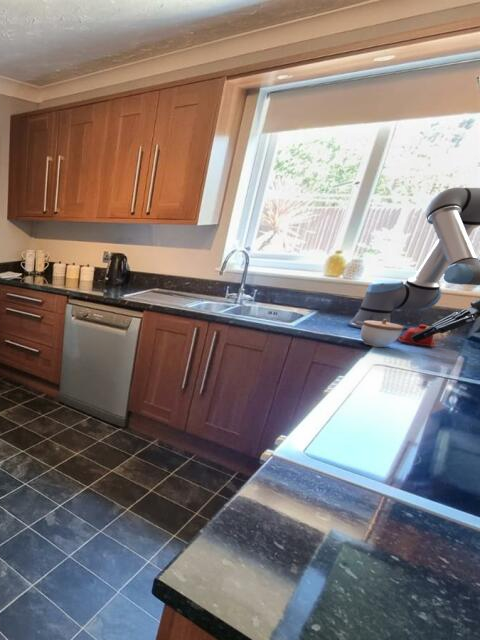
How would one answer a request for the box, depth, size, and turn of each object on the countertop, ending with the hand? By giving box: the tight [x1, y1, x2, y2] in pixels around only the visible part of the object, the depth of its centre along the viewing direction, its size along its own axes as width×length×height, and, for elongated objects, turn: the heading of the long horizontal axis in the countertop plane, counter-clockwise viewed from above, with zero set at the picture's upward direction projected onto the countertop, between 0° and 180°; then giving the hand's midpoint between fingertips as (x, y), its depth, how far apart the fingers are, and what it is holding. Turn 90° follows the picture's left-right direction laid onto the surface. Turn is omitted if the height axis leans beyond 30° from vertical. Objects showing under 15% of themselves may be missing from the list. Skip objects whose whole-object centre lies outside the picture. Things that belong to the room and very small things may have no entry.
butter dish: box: [398, 323, 436, 348], centre depth 184 cm, size 12×12×8 cm
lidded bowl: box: [360, 319, 405, 348], centre depth 179 cm, size 13×13×11 cm
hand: (413, 339), depth 174 cm, fingers closed
